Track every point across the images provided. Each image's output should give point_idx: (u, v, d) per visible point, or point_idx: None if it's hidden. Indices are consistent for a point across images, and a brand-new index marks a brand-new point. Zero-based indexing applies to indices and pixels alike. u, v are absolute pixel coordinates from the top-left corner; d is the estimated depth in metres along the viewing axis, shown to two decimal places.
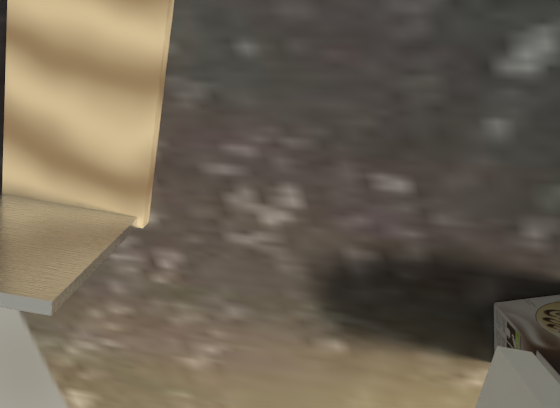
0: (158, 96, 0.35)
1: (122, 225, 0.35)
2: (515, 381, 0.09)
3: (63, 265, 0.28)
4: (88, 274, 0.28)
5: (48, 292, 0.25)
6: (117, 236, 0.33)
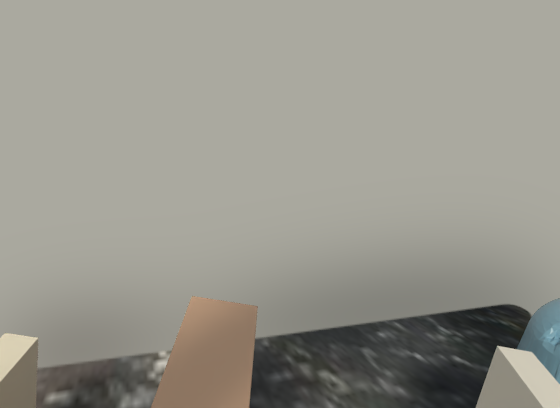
0: None
1: None
2: (515, 381, 0.09)
3: None
4: None
5: None
6: None
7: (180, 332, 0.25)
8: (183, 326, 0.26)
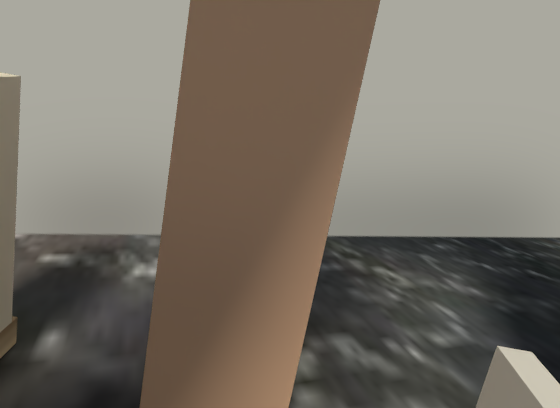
0: None
1: None
2: (514, 381, 0.09)
3: None
4: None
5: None
6: None
7: None
8: None
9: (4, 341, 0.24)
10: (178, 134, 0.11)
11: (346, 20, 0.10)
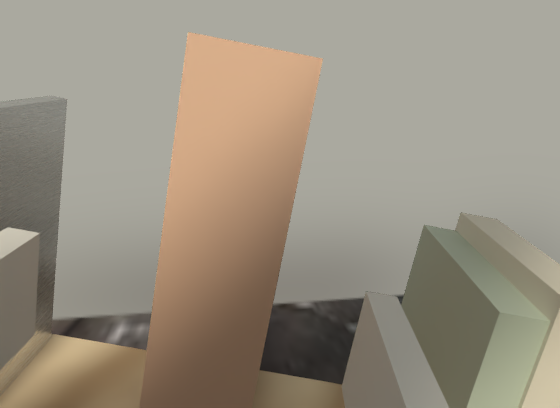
0: None
1: None
2: (371, 317, 0.11)
3: None
4: None
5: None
6: None
7: None
8: None
9: None
10: (174, 164, 0.15)
11: (296, 83, 0.14)
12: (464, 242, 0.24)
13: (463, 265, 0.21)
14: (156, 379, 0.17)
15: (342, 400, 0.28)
